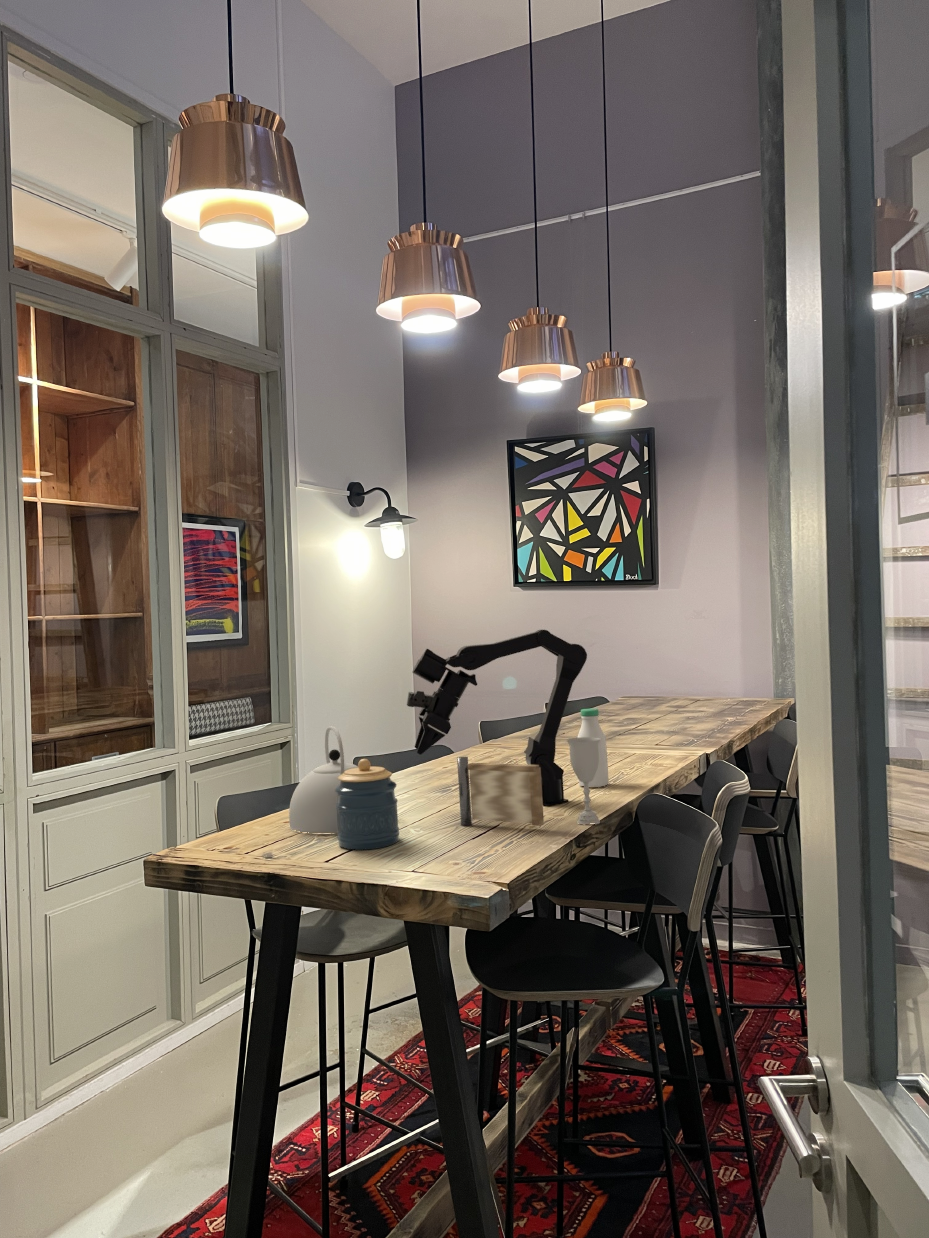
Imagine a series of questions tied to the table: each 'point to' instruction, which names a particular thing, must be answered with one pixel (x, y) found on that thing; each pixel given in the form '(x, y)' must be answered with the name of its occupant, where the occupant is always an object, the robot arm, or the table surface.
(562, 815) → the table surface
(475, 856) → the table surface
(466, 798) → the hinge post
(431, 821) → the table surface
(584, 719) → the milk bottle
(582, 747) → the chalice
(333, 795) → the kettle
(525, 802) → the gate
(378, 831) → the canister
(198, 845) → the table surface
